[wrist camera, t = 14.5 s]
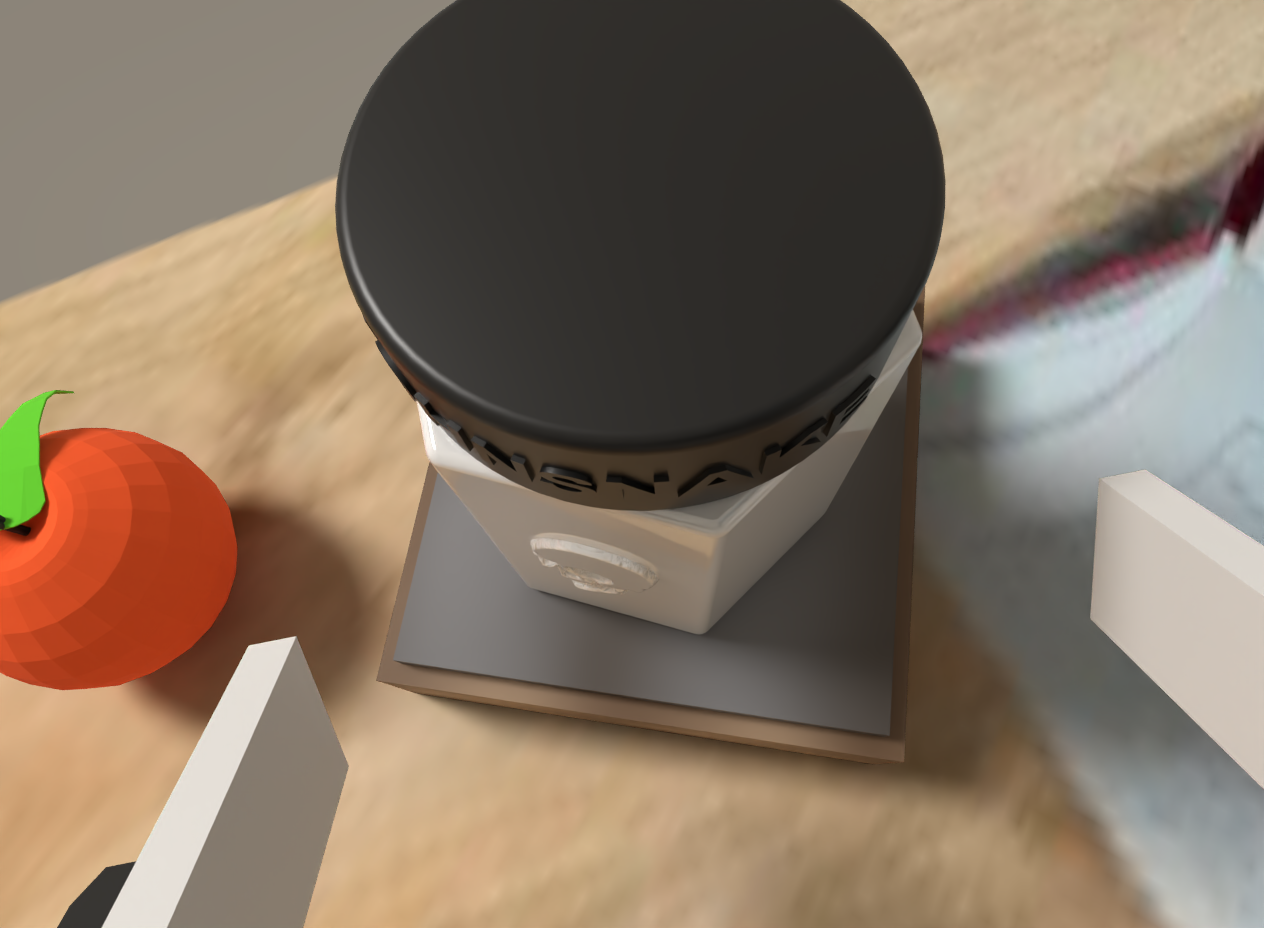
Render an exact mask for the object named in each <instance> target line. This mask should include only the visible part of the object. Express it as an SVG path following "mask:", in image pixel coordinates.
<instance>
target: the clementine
mask: <svg viewBox="0 0 1264 928" xmlns="http://www.w3.org/2000/svg"><path fill="white" fill-rule="evenodd" d="M65 393H74V392H73V391H61V390H54V391H50V392H45V393H43V394H41V395H39V396H37V397H35V398H33V399H31V400H29V401H27V402H25V403H23V404H22V405H21V406H20V407H19V408H18V409H17V410H16V411H15V412H14V413H13V415H12V416H11V417H10V418H9V419H8V420H7V422H6V423H5V424H4V426H3V427H2V428H1V430H0V673H2V674H4V675H6V676H9V677H11V678H14V679H17V680H20V681H22V682H25V683H28V684H31V685H37V686H42V687H48V688H53V689H59V690H72V689H88V688H98V687H107V686H117V685H121V684H124V683H126V682H129V681H132V680H134V679H137V678H140V677H143V676H145V675H148V674H151V673H153V672H154V671H156V670H158V669H159V668H161V667H163V666H165V665H166V664H168V663H169V662H171V661H172V660H174V659H175V658H177V657H178V656H180V655H181V654H183V653H184V652H186V651H187V650H189V649H190V648H191V647H192V646H193V645H194V644H195V643H196V642H197V641H198V640H199V639H200V638H201V637H202V636H203V635H204V634H205V633H206V632H207V631H208V630H209V629H210V628H211V627H212V625H213V623H214V622H215V620H216V618H217V617H218V615H219V613H220V612H221V610H222V608H223V607H224V605H225V604H226V602H227V600H228V597H229V593H230V590H231V587H232V584H233V581H234V578H235V575H236V564H237V549H238V547H237V542H236V537H235V532H234V527H233V523H232V518H231V513H230V509H229V507H228V505H227V503H226V502H225V500H224V498H223V496H222V495H221V493H220V491H219V489H218V488H217V486H216V484H215V483H214V482H213V481H212V480H211V479H210V478H209V477H208V476H207V475H206V474H205V473H204V472H203V471H202V470H201V469H200V468H199V467H197V466H196V465H195V464H194V463H193V462H192V461H191V460H190V459H189V458H188V457H186V456H185V455H184V454H183V453H182V452H180V451H177V450H175V449H173V448H171V447H169V446H167V445H164V444H162V443H160V442H158V441H156V440H153V439H151V438H148V437H145V436H143V435H140V434H138V433H135V432H129V431H122V430H115V429H108V428H79V429H70V430H61V431H52V432H49V433H46V434H44V435H41V436H40V435H39V425H40V421H41V417H42V413H43V410H44V407H45V404H46V401H47V399H48V398H50V397H51V396H52V395H53V394H65Z"/></svg>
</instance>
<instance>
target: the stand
mask: <svg viewBox="0 0 1264 928" xmlns="http://www.w3.org/2000/svg"><path fill="white" fill-rule="evenodd" d="M924 298H925V286H924V288H923V290H922V292H921V294H920V296H919V298H918V300H917V302H916V304H915V306H914V308H913V311H914V313H915V315H916V318H917V320H918V323H919V325H920V327H921V330H922V341H921V344H920V346H919V348H918V349H917V351H916V353H915V355H914V356H913V358H912V360H911V362H910V364H909V365H908V367H907V369H906V371H905V372H904V374H903V376H902V378H901V380H900V381H899V383H898V385H897V387H896V388H895V390H894V392H893V394H892V396H891V397H890V399H889V401H888V403H887V405H886V406H885V408H884V410H883V412H882V413H881V415H880V417H879V419H878V421H877V422H876V424H875V426H874V428H873V429H872V431H871V433H870V435H869V437H868V438H867V440H866V442H865V444H864V445H863V447H862V449H861V451H860V453H859V454H858V456H857V458H856V460H855V461H854V463H853V465H852V467H851V469H850V470H849V472H848V474H847V476H846V478H845V479H844V481H843V483H842V485H841V486H840V488H839V490H838V492H837V494H836V495H835V497H834V499H833V501H832V502H831V504H830V506H829V508H828V510H827V511H826V513H825V514H824V515H823V516H822V517H821V518H820V519H819V520H818V521H817V522H816V523H815V524H814V525H813V526H812V527H811V528H810V529H809V530H808V531H807V532H806V533H805V534H804V535H803V536H802V537H801V538H800V539H799V540H798V541H797V542H796V543H795V544H794V545H793V546H792V547H791V548H790V549H789V550H788V551H787V552H786V553H785V554H784V555H783V556H782V557H781V558H780V559H779V560H778V561H777V562H776V563H775V564H774V565H773V566H772V567H771V568H770V569H769V570H768V571H767V572H766V573H765V574H764V575H763V576H762V577H761V578H760V579H759V580H758V581H757V582H756V583H755V584H754V585H753V586H752V587H751V588H750V589H749V590H748V591H747V592H746V593H745V594H744V595H743V596H742V597H741V598H740V599H739V600H738V601H737V602H736V603H735V604H734V605H733V606H732V607H731V608H730V609H729V610H728V611H727V612H726V613H725V614H724V615H723V616H722V617H721V618H720V619H719V620H718V621H717V622H716V623H715V624H714V625H713V626H712V627H711V628H710V629H709V630H708V631H707V632H706V633H704V634H693V633H690V632H686V631H683V630H679V629H676V628H672V627H669V626H665V625H662V624H658V623H654V622H651V621H647V620H644V619H640V618H637V617H633V616H629V615H626V614H622V613H619V612H615V611H612V610H608V609H604V608H601V607H597V606H594V605H590V604H586V603H583V602H579V601H576V600H572V599H569V598H565V597H561V596H558V595H554V594H551V593H547V592H543V591H540V590H536V589H533V588H530V587H528V586H527V585H526V584H525V583H524V581H523V580H522V579H521V577H520V576H519V575H518V574H517V572H516V571H515V570H514V568H513V567H512V566H511V565H510V563H509V562H508V561H507V560H506V558H505V557H504V556H503V554H502V553H501V552H500V551H499V549H498V548H497V547H496V545H495V544H494V543H493V542H492V540H491V539H490V538H489V536H488V535H487V534H486V533H485V531H484V530H483V529H482V528H481V526H480V525H479V524H478V522H477V521H476V520H475V519H474V517H473V516H472V515H471V513H470V512H469V511H468V510H467V508H466V507H465V506H464V504H463V503H462V502H461V501H460V499H459V498H458V497H457V496H456V494H455V493H454V492H453V490H452V489H451V488H450V487H449V485H448V484H447V483H446V481H445V480H444V479H443V478H442V476H441V475H440V474H439V473H438V471H437V470H436V469H435V467H434V466H433V465H432V464H431V462H429V466H428V470H427V475H426V479H425V483H424V487H423V491H422V495H421V499H420V503H419V507H418V511H417V516H416V520H415V524H414V528H413V532H412V536H411V540H410V544H409V548H408V553H407V557H406V561H405V565H404V569H403V573H402V577H401V581H400V585H399V589H398V594H397V598H396V602H395V606H394V610H393V614H392V618H391V622H390V626H389V631H388V635H387V639H386V643H385V647H384V651H383V655H382V659H381V663H380V667H379V672H378V676H377V681H380V682H383V683H386V684H389V685H392V686H395V687H398V688H401V689H404V690H408V691H411V692H414V693H419V694H425V695H432V696H438V697H445V698H451V699H457V700H464V701H470V702H477V703H483V704H490V705H496V706H502V707H509V708H515V709H522V710H528V711H535V712H541V713H547V714H554V715H560V716H567V717H573V718H580V719H586V720H592V721H599V722H605V723H612V724H618V725H625V726H631V727H637V728H644V729H650V730H657V731H663V732H669V733H676V734H682V735H689V736H695V737H702V738H708V739H714V740H721V741H727V742H734V743H740V744H747V745H753V746H759V747H766V748H772V749H779V750H785V751H792V752H798V753H804V754H811V755H817V756H824V757H830V758H837V759H843V760H849V761H856V762H862V763H869V764H884V763H899V762H904V754H905V732H906V709H907V686H908V663H909V640H910V618H911V595H912V572H913V549H914V526H915V504H916V481H917V458H918V435H919V412H920V390H921V367H922V344H923V321H924Z"/></svg>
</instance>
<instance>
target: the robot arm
mask: <svg viewBox="0 0 1264 928" xmlns="http://www.w3.org/2000/svg"><path fill="white" fill-rule="evenodd" d="M1090 619H1091V620H1092V621H1093V622H1094V623H1095V624H1096V625H1097V626H1098V627H1099V628H1100V629H1101V630H1102V631H1103V632H1104V633H1105V634H1106V635H1107V636H1108V637H1109V638H1110V639H1111V640H1112V641H1113V642H1114V643H1115V644H1117V645H1118V646H1119V647H1120V648H1121V649H1122V650H1123V651H1124V652H1125V653H1126V654H1127V655H1128V656H1129V657H1130V658H1131V659H1132V660H1133V661H1134V662H1135V663H1136V664H1137V665H1138V666H1139V667H1140V668H1141V669H1142V670H1143V671H1144V672H1145V673H1146V674H1147V675H1148V676H1149V677H1150V678H1151V679H1152V680H1153V681H1154V682H1155V683H1156V684H1157V685H1158V686H1159V687H1160V688H1161V689H1162V690H1163V691H1164V692H1165V693H1166V694H1167V695H1168V696H1169V697H1170V698H1171V699H1172V700H1173V701H1175V702H1176V703H1177V704H1178V705H1179V706H1180V707H1181V708H1182V709H1183V710H1184V711H1185V712H1186V713H1187V714H1188V715H1189V716H1190V717H1191V718H1192V719H1193V720H1194V721H1195V722H1196V723H1197V724H1198V725H1199V726H1200V727H1201V728H1202V729H1203V730H1204V731H1205V732H1206V733H1207V734H1208V735H1209V736H1210V737H1211V738H1212V739H1213V740H1214V741H1215V742H1216V743H1217V744H1218V745H1219V746H1220V747H1221V748H1222V749H1223V750H1224V751H1225V752H1226V753H1227V754H1228V755H1229V756H1230V757H1231V758H1233V759H1234V760H1235V761H1236V762H1237V763H1238V764H1239V765H1240V766H1241V767H1242V768H1243V769H1244V770H1245V771H1246V772H1247V773H1248V774H1249V775H1250V776H1251V777H1252V778H1253V779H1254V780H1255V781H1256V782H1257V783H1258V784H1259V785H1260V786H1261V787H1262V788H1263V789H1264V546H1263V545H1261V544H1260V543H1258V542H1257V541H1255V540H1254V539H1252V538H1251V537H1249V536H1248V535H1246V534H1244V533H1243V532H1241V531H1240V530H1238V529H1237V528H1235V527H1234V526H1232V525H1230V524H1229V523H1227V522H1226V521H1224V520H1223V519H1221V518H1220V517H1218V516H1217V515H1215V514H1213V513H1212V512H1210V511H1209V510H1207V509H1206V508H1204V507H1203V506H1201V505H1199V504H1198V503H1196V502H1195V501H1193V500H1192V499H1190V498H1189V497H1187V496H1186V495H1184V494H1182V493H1181V492H1179V491H1178V490H1176V489H1175V488H1173V487H1172V486H1170V485H1168V484H1167V483H1165V482H1164V481H1162V480H1161V479H1159V478H1158V477H1156V476H1155V475H1153V474H1151V473H1150V472H1148V471H1147V470H1140V471H1135V472H1130V473H1125V474H1120V475H1115V476H1109V477H1104V478H1099V489H1098V504H1097V520H1096V536H1095V552H1094V567H1093V583H1092V599H1091V615H1090ZM348 767H349V766H348V763H347V761H346V758H345V756H344V753H343V751H342V748H341V746H340V743H339V741H338V738H337V736H336V733H335V731H334V728H333V726H332V723H331V721H330V719H329V716H328V714H327V711H326V709H325V706H324V704H323V701H322V699H321V696H320V694H319V691H318V689H317V686H316V684H315V681H314V679H313V676H312V674H311V671H310V669H309V666H308V664H307V661H306V659H305V656H304V654H303V651H302V649H301V646H300V644H299V642H298V639H297V637H296V636H295V637H289V638H284V639H279V640H274V641H269V642H264V643H259V644H254V645H249V646H248V648H247V650H246V652H245V654H244V656H243V657H242V659H241V661H240V663H239V665H238V667H237V669H236V671H235V673H234V675H233V677H232V679H231V680H230V682H229V684H228V686H227V688H226V690H225V692H224V694H223V696H222V698H221V700H220V702H219V703H218V705H217V707H216V709H215V711H214V713H213V715H212V717H211V719H210V721H209V723H208V725H207V727H206V728H205V730H204V732H203V734H202V736H201V738H200V740H199V742H198V744H197V746H196V748H195V750H194V751H193V753H192V755H191V757H190V759H189V761H188V763H187V765H186V767H185V769H184V771H183V773H182V775H181V776H180V778H179V780H178V782H177V784H176V786H175V788H174V790H173V792H172V794H171V796H170V798H169V799H168V801H167V803H166V805H165V807H164V809H163V811H162V813H161V815H160V817H159V819H158V821H157V823H156V824H155V826H154V828H153V830H152V832H151V834H150V836H149V838H148V840H147V842H146V844H145V846H144V847H143V849H142V851H141V853H140V855H139V857H138V859H137V861H136V862H131V863H126V864H121V865H116V866H111V867H106V868H105V869H104V870H103V871H102V872H101V873H100V874H99V875H98V877H97V878H96V879H95V880H94V881H93V882H92V883H91V884H90V885H89V886H88V887H87V888H86V889H85V890H84V891H83V892H82V893H81V895H80V896H79V897H78V898H77V899H76V900H75V901H74V902H73V903H72V904H71V905H70V906H69V908H68V910H67V912H66V913H65V915H64V917H63V919H62V920H61V922H60V924H59V926H58V927H57V928H303V926H304V923H305V919H306V915H307V912H308V908H309V905H310V901H311V898H312V894H313V891H314V887H315V884H316V880H317V877H318V873H319V870H320V866H321V863H322V859H323V855H324V852H325V848H326V845H327V841H328V838H329V834H330V831H331V827H332V824H333V820H334V817H335V813H336V810H337V806H338V802H339V799H340V795H341V792H342V788H343V785H344V781H345V778H346V774H347V771H348Z"/></svg>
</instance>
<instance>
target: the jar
mask: <svg viewBox="0 0 1264 928" xmlns="http://www.w3.org/2000/svg"><path fill="white" fill-rule="evenodd" d="M944 210H945V173H944V163H943V155H942V150H941V146H940V142H939V137H938V133H937V129H936V127H935V124H934V121H933V118H932V115H931V113H930V110H929V107H928V105H927V103H926V101H925V99H924V97H923V95H922V93H921V91H920V89H919V87H918V85H917V83H916V82H915V80H914V78H913V77H912V75H911V74H910V72H909V71H908V69H907V67H906V66H905V64H904V63H903V61H902V60H901V59H900V57H899V56H898V55H897V54H896V52H895V51H894V50H893V49H892V47H891V46H890V45H889V43H888V42H887V41H886V40H885V39H884V38H883V37H882V36H881V35H880V34H879V33H878V32H877V31H876V30H875V29H874V28H873V27H872V26H871V25H870V24H869V23H868V22H867V21H866V20H865V19H863V18H862V17H861V16H860V15H859V14H857V13H856V12H855V11H854V10H853V9H852V8H850V7H849V6H847V5H846V4H845V3H843V2H842V1H840V0H456V1H455V2H454V3H452V4H451V5H449V6H448V7H446V8H445V9H444V10H442V11H441V12H439V13H438V14H437V15H436V16H434V17H433V18H432V19H431V20H430V21H429V22H428V23H426V24H425V25H424V26H423V27H421V28H420V29H419V30H418V31H417V32H416V33H415V34H414V35H413V36H412V37H411V38H410V39H409V40H408V41H407V42H406V43H405V44H404V45H403V46H402V47H401V48H400V49H399V50H398V52H397V53H396V54H395V55H394V56H393V58H392V59H391V60H390V61H389V62H388V64H387V65H386V66H385V67H384V69H383V70H382V72H381V73H380V75H379V76H378V78H377V79H376V81H375V82H374V84H373V85H372V86H371V88H370V90H369V92H368V94H367V96H366V97H365V99H364V101H363V103H362V105H361V106H360V108H359V110H358V113H357V115H356V117H355V120H354V122H353V125H352V127H351V129H350V132H349V134H348V137H347V141H346V144H345V147H344V151H343V154H342V157H341V163H340V168H339V173H338V179H337V188H336V204H335V211H336V230H337V237H338V243H339V248H340V254H341V259H342V262H343V266H344V269H345V273H346V276H347V279H348V282H349V285H350V288H351V290H352V292H353V295H354V297H355V299H356V302H357V304H358V306H359V308H360V310H361V312H362V314H363V317H364V319H365V322H366V323H367V325H368V326H369V328H370V329H371V331H372V332H373V334H374V335H375V337H376V338H377V339H378V340H377V341H375V342H376V345H377V347H378V349H379V351H380V352H381V354H382V356H383V357H384V359H385V360H386V362H387V363H388V365H389V366H390V368H391V369H392V371H393V372H394V373H395V375H396V376H397V378H398V379H399V380H400V382H401V383H402V385H403V386H404V388H405V389H406V391H407V392H408V393H409V395H410V396H411V397H412V398H413V400H414V401H417V405H418V410H419V416H420V422H421V428H422V434H423V440H424V446H425V451H426V455H427V458H428V460H429V461H430V462H431V464H432V465H433V466H434V467H435V469H436V470H437V471H438V473H439V474H440V475H441V476H442V478H443V479H444V480H445V481H446V483H447V484H448V485H449V487H450V488H451V489H452V490H453V492H454V493H455V494H456V496H457V497H458V498H459V499H460V501H461V502H462V503H463V504H464V506H465V507H466V508H467V510H468V511H469V512H470V513H471V515H472V516H473V517H474V519H475V520H476V521H477V522H478V524H479V525H480V526H481V528H482V529H483V530H484V531H485V533H486V534H487V535H488V536H489V538H490V539H491V540H492V542H493V543H494V544H495V545H496V547H497V548H498V549H499V551H500V552H501V553H502V554H503V556H504V557H505V558H506V560H507V561H508V562H509V563H510V565H511V566H512V567H513V568H514V570H515V571H516V572H517V574H518V575H519V576H520V577H521V579H522V580H523V581H524V583H525V584H526V585H527V586H528V587H530V588H533V589H536V590H540V591H543V592H547V593H551V594H554V595H558V596H561V597H565V598H569V599H572V600H576V601H579V602H583V603H586V604H590V605H594V606H597V607H601V608H604V609H608V610H612V611H615V612H619V613H622V614H626V615H629V616H633V617H637V618H640V619H644V620H647V621H651V622H654V623H658V624H662V625H665V626H669V627H672V628H676V629H679V630H683V631H686V632H690V633H693V634H704V633H706V632H707V631H708V630H709V629H710V628H711V627H712V626H713V625H714V624H715V623H716V622H717V621H718V620H719V619H720V618H721V617H722V616H723V615H724V614H725V613H726V612H727V611H728V610H729V609H730V608H731V607H732V606H733V605H734V604H735V603H736V602H737V601H738V600H739V599H740V598H741V597H742V596H743V595H744V594H745V593H746V592H747V591H748V590H749V589H750V588H751V587H752V586H753V585H754V584H755V583H756V582H757V581H758V580H759V579H760V578H761V577H762V576H763V575H764V574H765V573H766V572H767V571H768V570H769V569H770V568H771V567H772V566H773V565H774V564H775V563H776V562H777V561H778V560H779V559H780V558H781V557H782V556H783V555H784V554H785V553H786V552H787V551H788V550H789V549H790V548H791V547H792V546H793V545H794V544H795V543H796V542H797V541H798V540H799V539H800V538H801V537H802V536H803V535H804V534H805V533H806V532H807V531H808V530H809V529H810V528H811V527H812V526H813V525H814V524H815V523H816V522H817V521H818V520H819V519H820V518H821V517H822V516H823V515H824V514H825V513H826V511H827V510H828V508H829V506H830V504H831V502H832V501H833V499H834V497H835V495H836V494H837V492H838V490H839V488H840V486H841V485H842V483H843V481H844V479H845V478H846V476H847V474H848V472H849V470H850V469H851V467H852V465H853V463H854V461H855V460H856V458H857V456H858V454H859V453H860V451H861V449H862V447H863V445H864V444H865V442H866V440H867V438H868V437H869V435H870V433H871V431H872V429H873V428H874V426H875V424H876V422H877V421H878V419H879V417H880V415H881V413H882V412H883V410H884V408H885V406H886V405H887V403H888V401H889V399H890V397H891V396H892V394H893V392H894V390H895V388H896V387H897V385H898V383H899V381H900V380H901V378H902V376H903V374H904V372H905V371H906V369H907V367H908V365H909V364H910V362H911V360H912V358H913V356H914V355H915V353H916V351H917V349H918V348H919V346H920V344H921V341H922V330H921V327H920V325H919V323H918V320H917V318H916V315H915V313H914V311H913V308H914V306H915V304H916V302H917V300H918V298H919V296H920V294H921V292H922V290H923V288H924V286H925V284H926V282H927V279H928V277H929V274H930V272H931V269H932V266H933V263H934V260H935V257H936V254H937V250H938V246H939V242H940V237H941V232H942V225H943V219H944Z"/></svg>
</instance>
